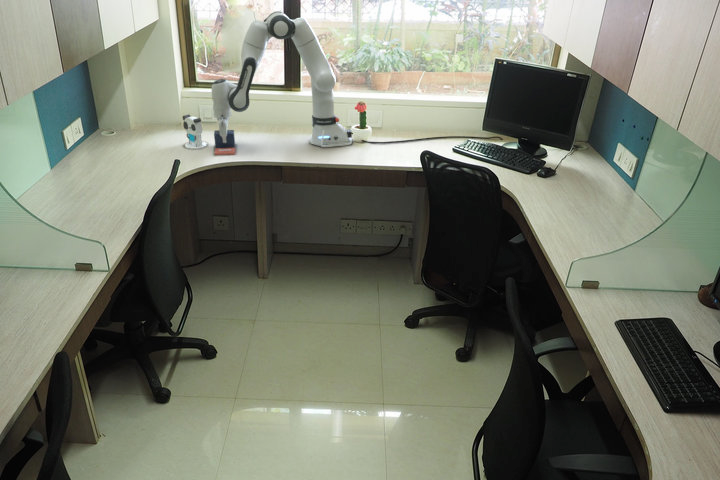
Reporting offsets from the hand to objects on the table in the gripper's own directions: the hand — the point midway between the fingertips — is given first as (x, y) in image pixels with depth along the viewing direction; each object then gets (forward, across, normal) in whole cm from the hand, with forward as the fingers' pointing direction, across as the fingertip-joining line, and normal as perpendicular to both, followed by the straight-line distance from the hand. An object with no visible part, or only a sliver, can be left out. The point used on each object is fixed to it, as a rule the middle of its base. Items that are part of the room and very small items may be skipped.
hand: (225, 139), depth 321 cm
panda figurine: (+4, +4, +16) cm, 17 cm away
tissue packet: (+4, -8, 0) cm, 9 cm away
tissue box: (+4, 0, 0) cm, 4 cm away
